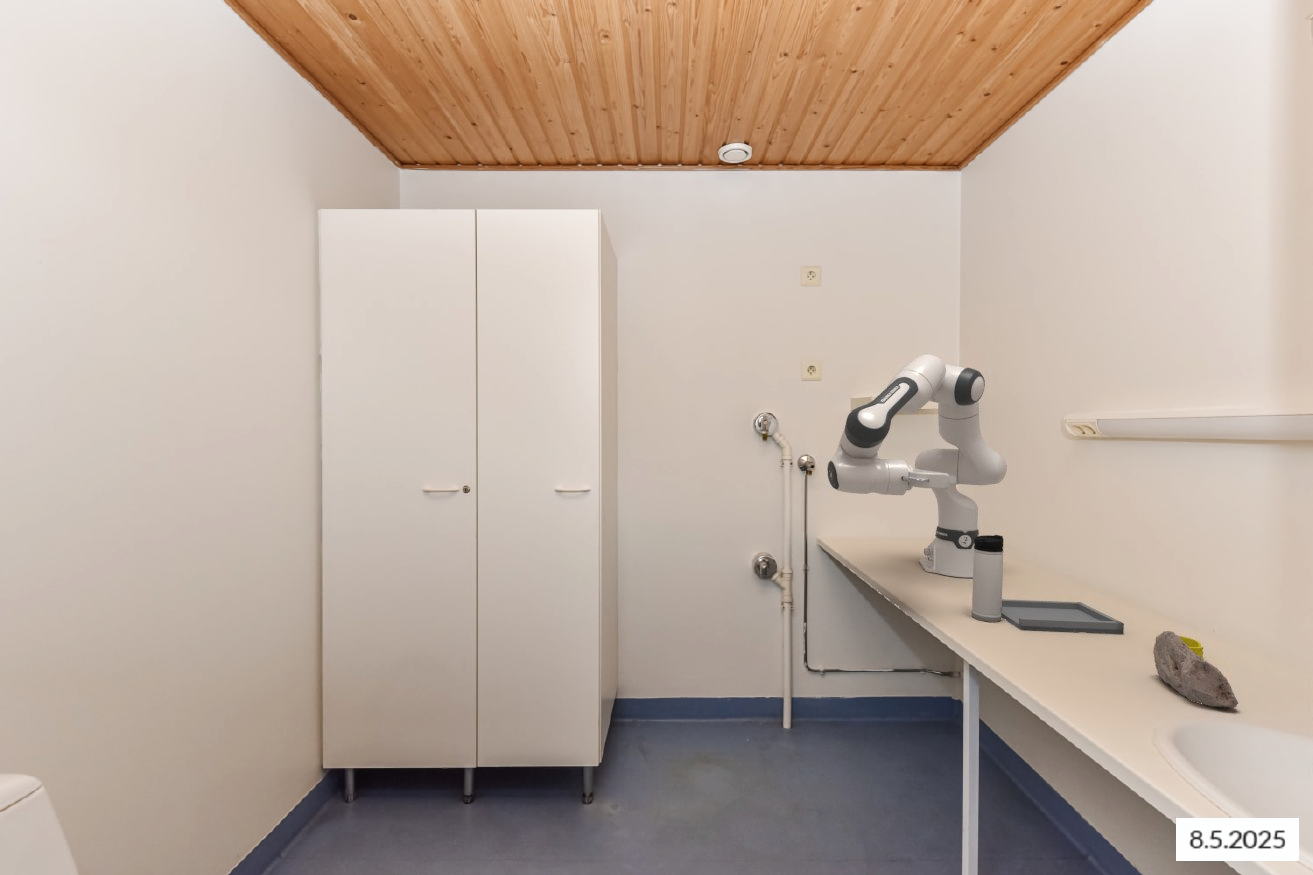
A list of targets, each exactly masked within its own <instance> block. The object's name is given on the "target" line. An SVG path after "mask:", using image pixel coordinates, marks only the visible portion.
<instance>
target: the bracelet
mask: <svg viewBox="0 0 1313 875" xmlns="http://www.w3.org/2000/svg"><path fill="white" fill-rule="evenodd" d="M1160 634H1161V633H1160ZM1160 634H1157V635H1155V638H1156V637H1157V636H1159V635H1160ZM1178 636H1179V637H1180V638H1181V639H1182V641H1183V642H1184V643H1185V644H1186V645H1187V646H1188V647H1189V648H1190V649H1191V650H1192V651H1193V652H1194V653H1195V654H1196V655H1198V656H1199V657H1201V658H1202V659H1203V656H1204V651H1203V650H1204V647H1203V646H1202V644H1201V642H1199V641H1198V640H1196V639H1194V638H1191V637H1187V636H1183V635H1182V636H1181V635H1178ZM1155 643H1156V641H1155V642H1154V644H1155Z"/></svg>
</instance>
